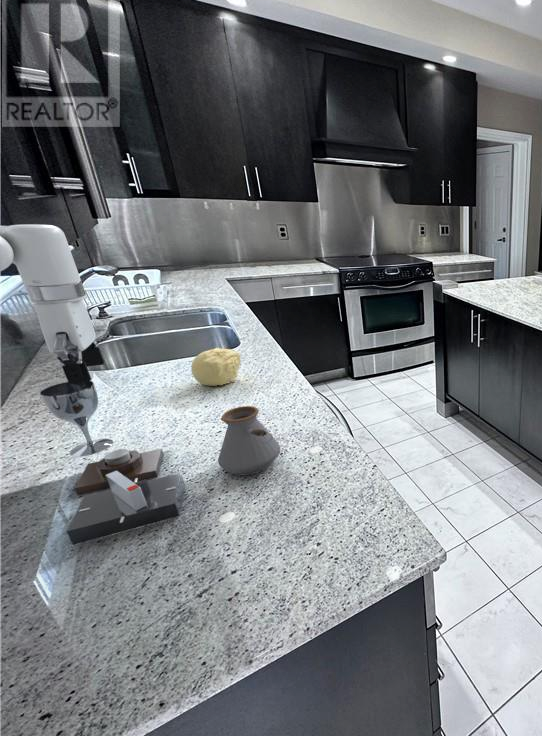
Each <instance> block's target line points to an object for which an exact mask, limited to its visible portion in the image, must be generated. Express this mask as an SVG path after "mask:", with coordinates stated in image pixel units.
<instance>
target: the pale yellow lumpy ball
mask: <svg viewBox="0 0 542 736" xmlns="http://www.w3.org/2000/svg"><path fill="white" fill-rule="evenodd" d="M241 362H242V361H241V355H240V353H239V352H236V351H235V350H233V349H231V348H221V347H215V348H211V349H207V350H204V351H202V352H200V353H199V354H197V355H196V356H195V357H194V358H193V360H192V362H191V366H190V371H191V374H192V376H193V378H194V379H195V381H196V382H198V383H199V384H201V385H205V386H209V387H210V386H211V387H218V386H217V385H220V386H224V385H223V384H225V385H227V384H226V383H228V382H230V383H232V382H233V381H234V380H236V378H237V377H238V375H239V374H238V373H239V368H240V366H241ZM231 381H232V382H231ZM228 384H229V383H228Z"/></svg>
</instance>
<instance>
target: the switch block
mask: <svg viewBox="0 0 542 736" xmlns="http://www.w3.org/2000/svg"><path fill="white" fill-rule="evenodd" d="M128 451H129V454H130V456H131V459H130V460H129V461H127V462H125V463H122V464H120V465H115V466H108V465H107V463H106V460H105V457H104V458H102V459H100V460H99V461H94V462H89V463H87V465H86V467H85V469H84V470H83V472H82V473H81V476H80V477H79V479H78V481H77V483H76V484H75V486H74V491H75V493H76V495H77V496H81V495H87V494H91V493H95V492H100V491H104V490H108V489H111V488H110V485H109V483H108V480H107V478H106V475H107V474H109V473H112V472H114V471H118V472H119V473H121V474H122V475H124V476H125V477H126V478H128V479H129V480H131V481H132V482H133V483H134V481H135V478H138V480H137V483H139V482H143V481H148V480H152V479H156V478H159V473H160V471H161V467H162V463H163V460H164V457H165V454H164V451H163V448H158V449H154V450H149V451H144V452H140V451H137V450H128Z"/></svg>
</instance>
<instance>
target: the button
mask: <svg viewBox="0 0 542 736" xmlns="http://www.w3.org/2000/svg"><path fill="white" fill-rule="evenodd" d="M129 451H130V450H129V449H126V448H121V449H116V450H112V451H110V452H108V453H106V454H105V456H104V458H105V460H106V463H107V465H108V466H115V465H120V464H122V463H125V462H127V461H129V460H130V459H131V456H130V454H129Z"/></svg>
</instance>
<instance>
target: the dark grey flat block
mask: <svg viewBox="0 0 542 736" xmlns="http://www.w3.org/2000/svg"><path fill="white" fill-rule="evenodd" d="M137 480H138V478H135V481H134V483H135V484H136V485H138V486H139V487H140V488H141V490H142V493H143V496H144V498H145V501H146V504H147V506H145V507H143V508H141V509H139V510H137V511H136V510H135V509H133V508H132V507H131V506H129V505H128V504H127V503H125V502H124V501H123V500H121V499H120V498H119V497H118V496H116V495H115V494H114V493H112V490H111V488H109V489H105V490H100V491H96V492H92V493H87V494H84V496H83V498H82V500H81V502H80V503H79V506H78V507H77V509H76V511H75V514H74V516H73V518H72V520H71V522H70V524H69V525H68V528H67V529H66V533H67V536H68V537H69V540H70V541H71V544H72V546H75V545H79V544H84V543H86V542H89V541H94V540H97V539H100V538H104V537H108V536H112V535H116V534H119V533H123V532H127V531H130V530H134V529H137V528H141V527H145V526H149V525H153V524H156V523H159V522H162V521H167V520H171V519H174V518H178V517H180V514H181V510H182V504H183V499H184V493H185V488H186V483H185V480H184V477H183V474H182V472H179V473H176V474H171V475H167V476H163V477H157V478H152V479H148V480H144V481H139V482H137Z"/></svg>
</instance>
